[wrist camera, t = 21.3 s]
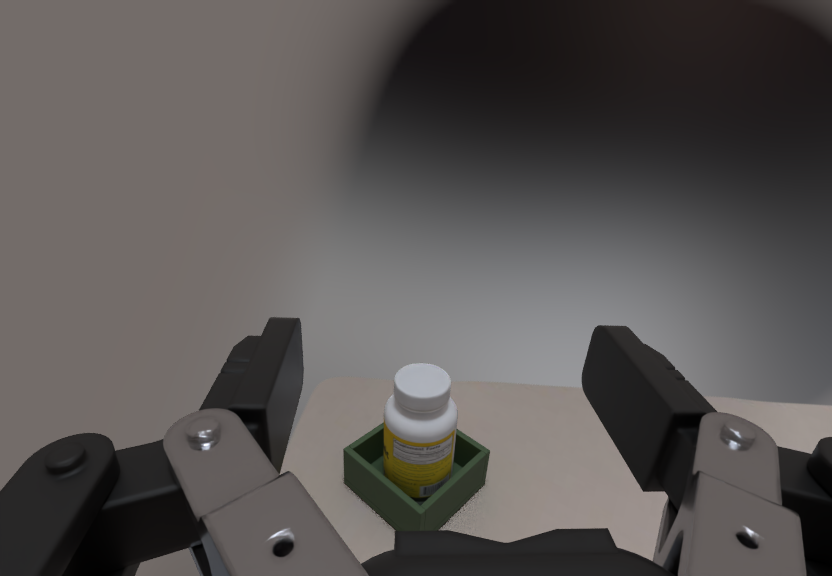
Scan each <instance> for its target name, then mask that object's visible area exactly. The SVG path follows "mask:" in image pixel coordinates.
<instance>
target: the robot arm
mask: <svg viewBox="0 0 832 576" xmlns="http://www.w3.org/2000/svg"><path fill="white" fill-rule="evenodd" d="M301 334H302V333H301V322H300V319H299V318H276V317H271V318H270V319H269V320H268V322H267V324H266V327H265V329H264V331H263V333H262V335H261V336H247V337H246V338H245V339H243V340H242V341H241V342H239V343H238V344H237V345H235V346H234V347H233V349H232V351H231V353H230V355H229V356H228V358H227V362H225V364H224V366H223V368H222V369H221V373H220V374H219V375H218V377H217V378H216V380H215V382H214V384H213V386H212V387H211V389H210V391H209V393H208V395H207V397H206V399H205V400H204V402H203V404H202V406H201V408H200V409H199V411H197V412H194V413H191V414H189V415H187V416H185V417H183V418H181V419H180V420H178V421H177V422H175V423H174V424H173V425H172V426H171V427H170V428H169V430H168V431H167V433H166V435H165V436H164V439H162V440H160V441H156V442H153V443H149V444H144V445H140V446H135V447H131V448H126V449H122V450H117V451H115V449H114V446H113V443H112V441H111V440H110V439H109V438H108V437H106V436H104V435H101V434H96V433H84V434H77V435H72V436H68V437H65V438H62V439H60V440H57V441H55V442H53V443H50V444H49V445H47V446H45V447H43V448H41V449H40V450H39V451H37V452H36V453H34V454H33V455H32V456H31V457H30V458H28V459H27V460H26V461H25V463H24V464H23V465H22V466H21V467H20V468H19V470H18V471H17V472H16V473H15V474H14V476H13V477H12V478H11V479H10V480H9V482H8V483H7V484H6V485H5V487H4V488H3V489H2V490H1V491H0V576H135V574H136V571H137V569H138V567H139V565H140V562H144V561H147V560H150V559H153V558H157V557H160V556H163V555H167V554H170V553H173V552H176V551H180V550H183V549H186V548H189V550H190V552H191V555H192V557H193V560H194V562H195V564H196V567H197V569H198V571H199V574H200V576H832V437H826V438H823V439H821V440H820V441H819V442H818V444H817V446H816V448H815V449H814V451H813V453H812V454H809V453H805V452H800V451H796V450H791V449H787V448H783V447H778V446H777V445H776V443H775V441H774V440H773V439H772V437H771V436H770V435H769V434H768V433H766V432H765V431H764V430H763V429H761V428H760V427H758V426H757V425H755V424H753V423H752V422H750V421H748V420H746V419H743V418H741V417H738V416H735V415H732V414H727V413H721V412H717V411H716V410H715V409H714V408H713V407H712V406H711V405H710V404H709V403H708V401H707V400H706V399H705V398H704V397H703V396H702V395H701V394H700V393H699V392H698V391H697V390H696V389H695V388H694V387H693V386H692V385H691V384H690V383H689V382H688V381H685V378H684V376H683V375H682V374H681V373H680V372H679V371H678V370H675V367H674V366H673V365H672V364H671V363H670V362H669V361H668V360H667V359H666V357H665V356H664V355H662V354H660V353H659V352H657V351H656V350H654V349H653V348H651V347H649V346H648V345H646V344H643V343H642V342H641V341H640V339H639V338H638V337H637V336H636V335H635V334H634V333H633V332H632V331H631V330H630V329H629V328H628V327H626V326H601V325H600V326H597V327H596V328H595V329H594V331H593V334H592V337H591V342H590V345H589V349H588V352H587V357H586V360H585V364H584V367H583V372H582V387H583V391H584V393H585V395H586V397H587V399H588V400H589V402H590V404H591V405H592V407H593V409H594V410H595V412H596V414H597V415H598V417H599V419H600V420H601V422H602V424H603V425H604V427H605V429H606V430H607V432H608V434H609V435H610V437H611V439H612V440H613V442H614V444H615V445H616V447H617V449H618V450H619V452H620V454H621V455H622V457H623V459H624V460H625V462H626V464H627V465H628V467H629V469H630V470H631V472H632V474H633V475H634V477H635V479H636V480H637V482H638V484H639V485H640V487H641V489H642V490H643V492H651V491H665V492H666V494H667V495H668V499H667V501H666V503H665V506H664V509H663V514H662V518H661V523H660V528H659V533H658V538H657V542H656V547H655V552H654V557H653V561H651V560H649V559H647V558H644V557H642V556H640V555H638V554H635V553H632V552H629V551H626V550H624V549H620V548H617V547H616V545H615V543H614V541H613V539H612V536H611V534H610V532H609V530H608V528H604V529H555V530H552V531H549V532H545V533H542V534H538V535H535V536H531V537H528V538H524V539H521V540H518V541H514V542H510V543H503V542H497V541H493V540H489V539H484V538H480V537H475V536H471V535H467V534H462V533H458V532H453V531H449V530H444V531H395V544H394V550H391V551H387V552H384V553H382V554H379V555H377V556H375V557H372V558H370V559H369V560H367V561H365V562H364V563H362V564H360V563H359V561H358V560H357V559H356V557H355V556H354V554H353V553H352V552H351V550H350V549H349V548H348V546H347V545H346V544H345V542H344V541H343V540H342V538H341V537H340V535H339V534H338V533H337V531H336V530H335V529H334V527H333V526H332V525H331V523H330V522H329V521H328V519H327V518H326V516H325V515H324V514H323V512H322V511H321V510H320V508H319V507H318V506H317V504H316V503H315V501H314V500H313V499H312V497H311V496H310V495H309V493H308V492H307V491H306V489H305V488H304V487H303V485H302V484H301V482H300V481H299V480H298V478H297V477H296V476H295V475H294V474H293V473H291V472H289V471H287V472H285V473H283V474H281V475H279V474H280V470H281V467H282V463H283V459H284V455H285V451H286V448H287V444H288V440H289V436H290V433H291V429H292V425H293V421H294V417H295V414H296V410H297V406H298V402H299V398H300V395H301V391H302V385H303V371H304V367H303V351H302V335H301Z"/></svg>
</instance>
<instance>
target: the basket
mask: <svg viewBox="0 0 832 576" xmlns="http://www.w3.org/2000/svg"><path fill="white" fill-rule="evenodd" d="M489 454H490V450H488V449H487V448H485V447H484V446H482V445H481V444H479V443H478V442H476V441H475V440H473V439H471V438H470V437H468V436H467V435H465V434H464V433H462V432H461V431H459V430H458V429H456V439H455V450H454V460H453V470H452V478H451V479H449V480H448V481H447V482H446V483H445V484H444V485H443V486H442V487H441V488H439V489H438V490H437V491H436V492H435V493H434V494H433V495H432V496H431V497H429V498H428V499H427V500H426V501H425V502H424V503H423V504H422V505H421V506H420V505H419V504H417V503H416V502H415V501H414V500H413V499H411V498H410V497H409V496H408V495H407V494H405V493H404V492H403V491H402V490H401V489H399V488H398V487H397V486H396V485H395V484H393V483H392V482H391V481H390V480H389V479H387V478H386V477H385V476H384V474H383V465H384V423H382V424H381V425H379V426H378V427H376V428H375V429H373V430H372V431H370V432H368V433H367V434H365V435H364V436H362V437H361V438H359V439H358V440H356V441H355V442H353V443H352V444H350V445H349V446H347V447H346V448H344V483H345V484H346V485H347V486H348V487H349V488H351V489H352V490H353V491H354V492H355V493H356V494H357V495H358V496H359V497H360V498H361V499H363V500H364V501H365V502H366V503H367V504H368V505H369V506H370V507H371V508H372V509H374V510H375V511H376V512H377V513H378V514H379V515H380V516H381V517H382V518H383V519H384V520H386V521H387V522H388V523H389V524H390V525H391V526H392V527H393V528H394V529H395V530H396V531H438V530H439V529H440V528H441V527H442V526H443V525H444V524H445V523H446V522H447V521H448V520H449V519H450V518H451V517H452V516H453V515H454V514H455V513H456V512H457V511H458V510H459V509H460V508H461V507H462V506H463V505H464V504H465V503H466V502H467V501H468V500H469V499H470V498H471V497H472V496H473V495H474V494H475V493H476V492H477V491H478V490H479V489H480V488H481V487H482V486H483V485H484V484H485V478H486V473H487V466H488V460H489Z"/></svg>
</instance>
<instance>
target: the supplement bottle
mask: <svg viewBox="0 0 832 576" xmlns="http://www.w3.org/2000/svg"><path fill="white" fill-rule="evenodd" d="M450 389H451V380H450V377H449V375H448V374H447V373H446V372H445V371H444V370H443V369H441V368H440V367H438V366H435V365H432V364H427V363H415V364H410V365H407V366H405V367H403V368H401V369H400V370H399V371H398V372H397V374H396V376H395V379H394V394H393V395H392V396H391V397H390V398H389V399H388V401H387V403H386V406H385V409H384V465H383V474H384V476H385V477H386V478H387V479H389V480H390V481H391V482H392V483H393V484H395V485H396V486H397V487H398V488H399V489H401V490H402V491H403V492H404V493H405V494H407V495H408V496H409V497H410V498H411V499H413V500H414V501H415V502H416V503H417V504H419V505H420V506H421V505H422V504H423V503H424V502H425V501H426V500H427V499H428V498H429V497H431V496H432V495H433V494H434V493H435V492H436V491H437V490H438V489H439V488H441V487H442V486H443V485H444V484H445V483H446V482H447V481H448V480H449V479H451V478H452V470H453V460H454V450H455V439H456V429H457V418H458V411H457V407H456V405H455V403H454V401H453V400H452V398H451V397H450Z"/></svg>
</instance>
